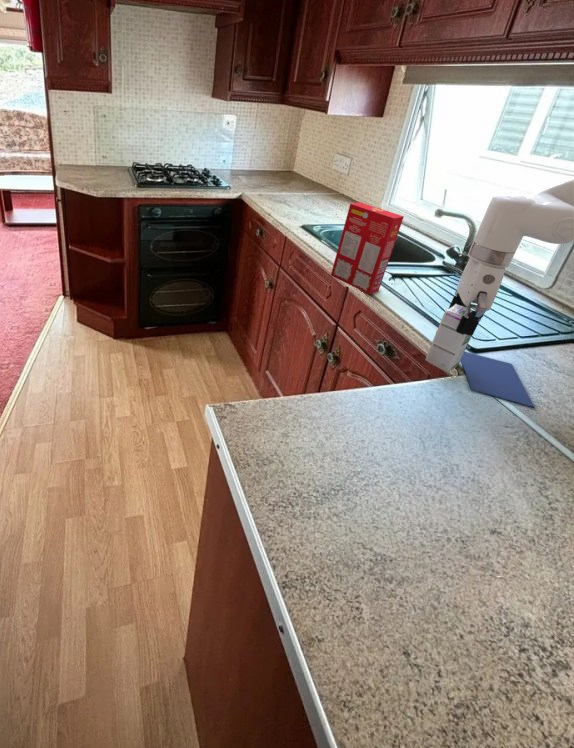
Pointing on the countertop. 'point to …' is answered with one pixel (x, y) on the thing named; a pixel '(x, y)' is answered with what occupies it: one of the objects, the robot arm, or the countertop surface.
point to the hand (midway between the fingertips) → (459, 322)
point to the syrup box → (448, 341)
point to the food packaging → (366, 246)
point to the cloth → (494, 378)
